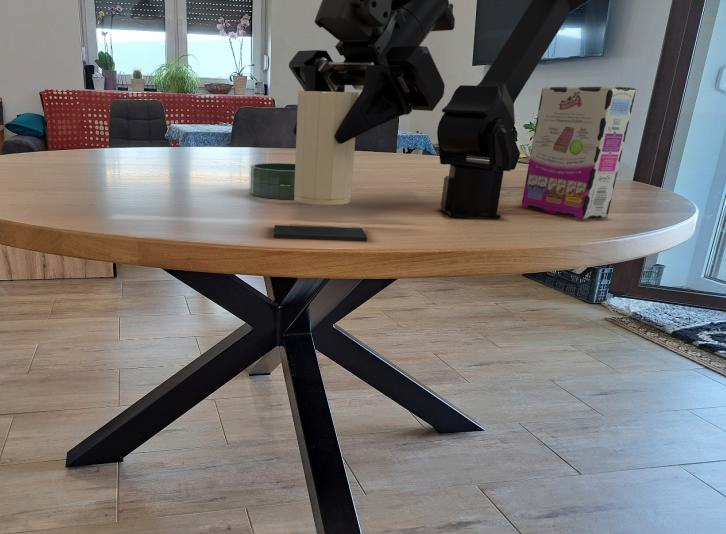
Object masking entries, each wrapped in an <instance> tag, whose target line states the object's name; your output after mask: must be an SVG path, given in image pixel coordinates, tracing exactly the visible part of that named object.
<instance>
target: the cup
mask: <svg viewBox="0 0 726 534" xmlns="http://www.w3.org/2000/svg"><path fill="white" fill-rule="evenodd" d="M359 95H360V93H359V92H357V91H355V92H354V91H353V92H351V91H345V92H323V91H304V90H298V91H297V110H296V111H297V114H296V121H297V135H296V136H295V160H294V161H295V162H294V164H295V186H294V201H295V202H298V203H301V204H306V205H314V206H341V205H346V204H349V203H351V197H352V189H353V175H354V161H355V150H356V149H355V148H356V137H354V138H352V139H350V140H348V141H346V142H344V143H342V144H339V143H338V142H337V141H336V139H335V138H334V135H335V133H336V131H337V130H338V128H339V126H340V124H341V123H342V121H343V119H344V118H345V116H346V115H347V113H348V112H349V110H350V109H351V107H352V106H353V104H354V103H355V101H356V100H357V98H358V96H359Z"/></svg>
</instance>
